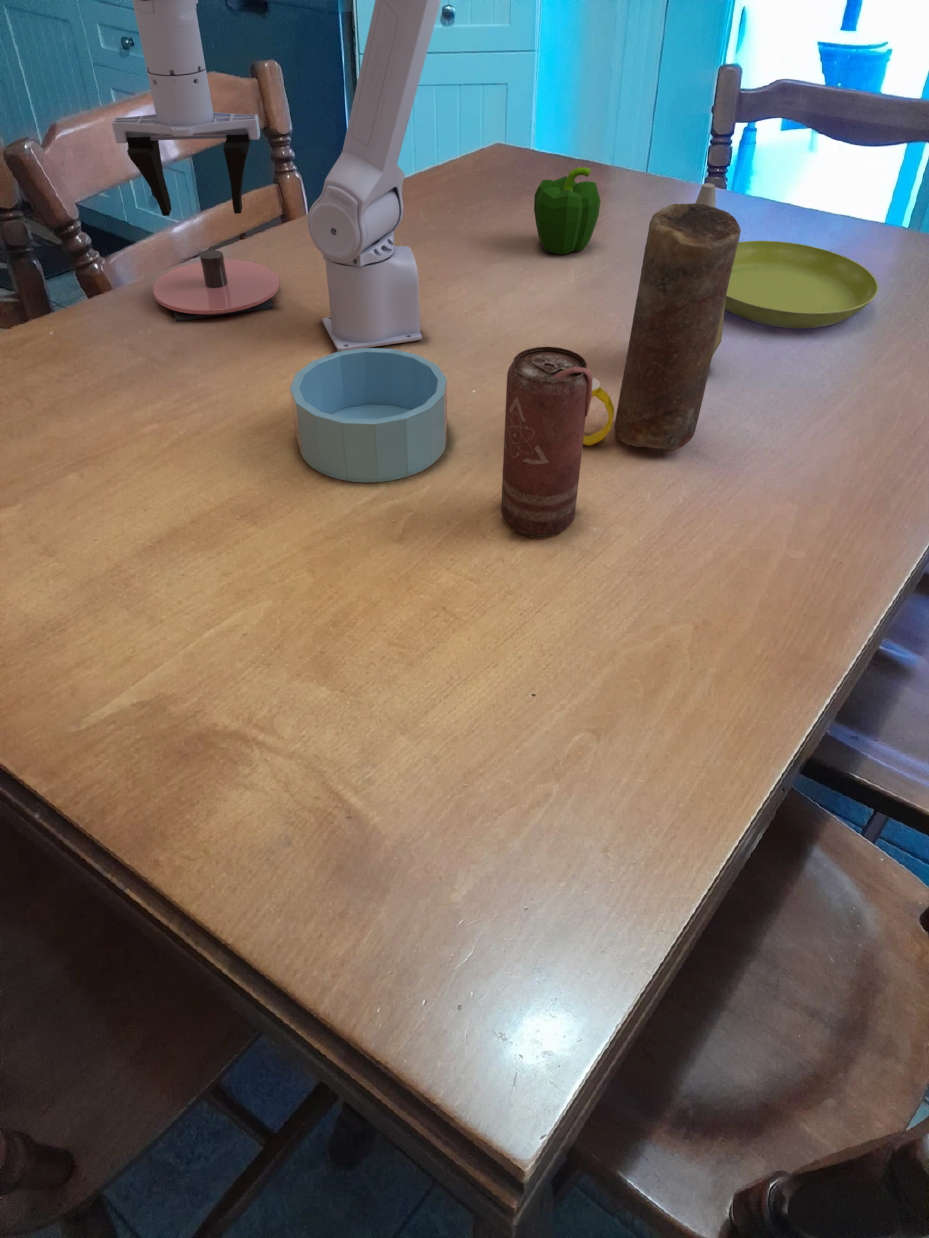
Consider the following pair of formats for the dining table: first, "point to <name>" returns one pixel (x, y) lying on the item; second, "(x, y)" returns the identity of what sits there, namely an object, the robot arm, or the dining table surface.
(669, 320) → the candle
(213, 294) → the lid
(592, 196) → the bell pepper
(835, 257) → the saucer
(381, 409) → the bowl
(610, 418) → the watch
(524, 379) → the can
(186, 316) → the mat
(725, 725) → the dining table surface
